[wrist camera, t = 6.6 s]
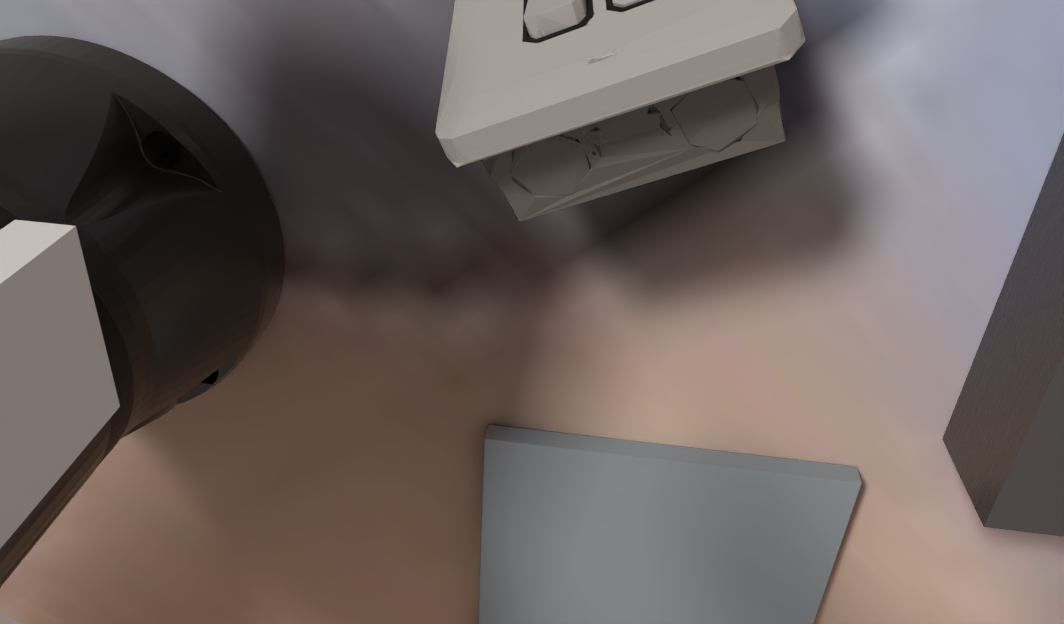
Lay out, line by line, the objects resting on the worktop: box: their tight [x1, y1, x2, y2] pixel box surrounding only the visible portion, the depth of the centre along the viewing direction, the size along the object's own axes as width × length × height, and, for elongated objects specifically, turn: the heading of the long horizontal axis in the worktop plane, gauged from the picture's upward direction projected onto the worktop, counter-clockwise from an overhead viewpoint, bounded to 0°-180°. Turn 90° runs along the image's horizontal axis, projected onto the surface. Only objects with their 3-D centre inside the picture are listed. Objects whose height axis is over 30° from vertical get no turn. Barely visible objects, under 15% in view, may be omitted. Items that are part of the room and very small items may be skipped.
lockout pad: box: [479, 425, 862, 624], centre depth 41 cm, size 16×16×1 cm
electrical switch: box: [435, 0, 805, 222], centre depth 24 cm, size 9×5×9 cm, turn 111°
